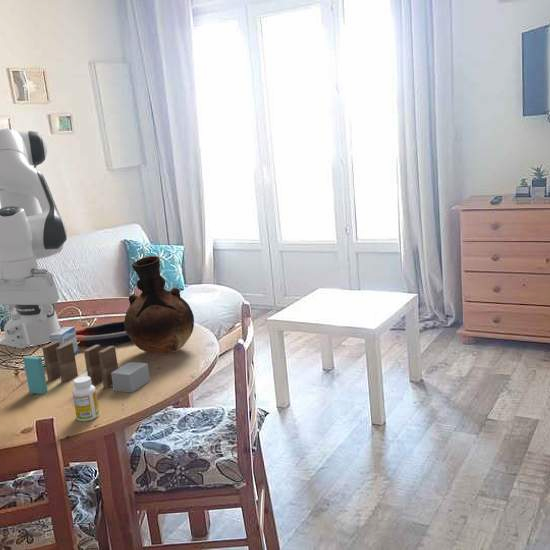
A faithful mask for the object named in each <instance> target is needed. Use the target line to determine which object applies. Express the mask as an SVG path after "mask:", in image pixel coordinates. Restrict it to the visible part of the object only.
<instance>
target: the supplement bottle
mask: <svg viewBox="0 0 550 550" xmlns="http://www.w3.org/2000/svg"><path fill="white" fill-rule="evenodd" d="M73 386H74V388H73V390H72V398H73V399H72V400H73V405H74V411H75V412H74V413H75V416H76V419H77V421H80V422H89V421H91V420H95V419H96V418H98V417H99V415H100V409H99V408H100V407H99V403H98V395H97V389H96V387H95V385H94V386H93V385H91V378H90V377H89V376H88V375H87V376H79V377H77V378H76V377H75V378H74V379H73Z"/></svg>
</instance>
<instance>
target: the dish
mask: <svg viewBox="0 0 550 550" xmlns="http://www.w3.org/2000/svg"><path fill="white" fill-rule="evenodd" d="M124 321H125V320H121V321H114V322H106V323H105V322H104V323H100V324H95V325H91V326H90V325H89V326H85V327H82V328H79V329H75V334H76V340H77V342H79V341H80V343H79V344H78V345H77V346H78V348H79V347H82V348H83V347H84V348H90V347H92V346H94V345H101V347H104V346H105V347H106V346H114V345H118V344H124V343H130V342H132V340H131V339H130V338H129V336H128V335H127V333H126V330H125V327H124Z"/></svg>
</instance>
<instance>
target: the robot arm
mask: <svg viewBox="0 0 550 550" xmlns="http://www.w3.org/2000/svg"><path fill="white" fill-rule="evenodd" d="M47 145H48V144H47V143H46V140H45V139H44V137H43V135H42V134H41V133H40V132H38V131H34V130H33V131H32V130H28V131H19V130H18V131H16V130H15V129H14V130H13V129H11V128H1V129H0V207H1V208H0V305H4V306H5V309H6V311H7V312H8V314H10V319H9V320H8V321H7V322H6V323H5V324H4V328H3V333H4V336H3V337H1V338H0V345H2V346H7V347H12V348H15V347H16V348H15V349H20V348H21V349H20V350H23V349H22V348H24V349H27V348H26V347H28V346H30V345H32V344H33V347H35V346H34V345H40V344H43V343H46V342H50V335H51V334H53V333H54V332H56V331H58V330H59V329H61V328H62V327H61V326H60V322H59V319H58V315H57V312H56V310H55V308H56V305H55V304H56V303H58V301H59V300H60V299H59V298H60V296H59V292H58V288H57V284H56V282H55V279H54V275H53V273H52V272H50V271H49V270H48V269H47V268H41V269H39V266H38V262H37V260H40V259H45V258H49V257H52V256H54V255H56V254H58V253H60V252H61V251H62V249H63V247H64V243H66V241H67V237H68V230H67V226H66V223H65V222H64V219H63V218H62V216H61V215H60V212H59V209H58V208H57V205H56V202H55V200H54V197H53V194H52V192H51V190H50V187H49V185H48V182H47V180H46V178H45V175H44V174H43V173H42V172H41V171H40V170H38V169H36V168H37V166H39V165H41V164H43V163H44V162H45V161H46V157H47V154H48V146H47ZM38 203H39V204H38ZM39 206H40V208H39ZM40 209H41V210H40ZM41 211H42V212H41ZM12 340H14V341H12ZM40 346H41V345H40ZM28 348H29V347H28Z"/></svg>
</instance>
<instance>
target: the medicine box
mask: <svg viewBox="0 0 550 550" xmlns="http://www.w3.org/2000/svg"><path fill="white" fill-rule="evenodd" d="M60 328H61V329H59V330H58V331H56V332H54V333H53V334H51V335H50V342H51V343H53V342H55V341H56V342H59V343H60V346H62V345H64V344H66V343H68V342H69V343H73V348H74V354H75V355H76V354H78V353H79V347H78V346H77V340H76V334H75V330H76V328H75V327H74V326H64V327H60Z"/></svg>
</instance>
